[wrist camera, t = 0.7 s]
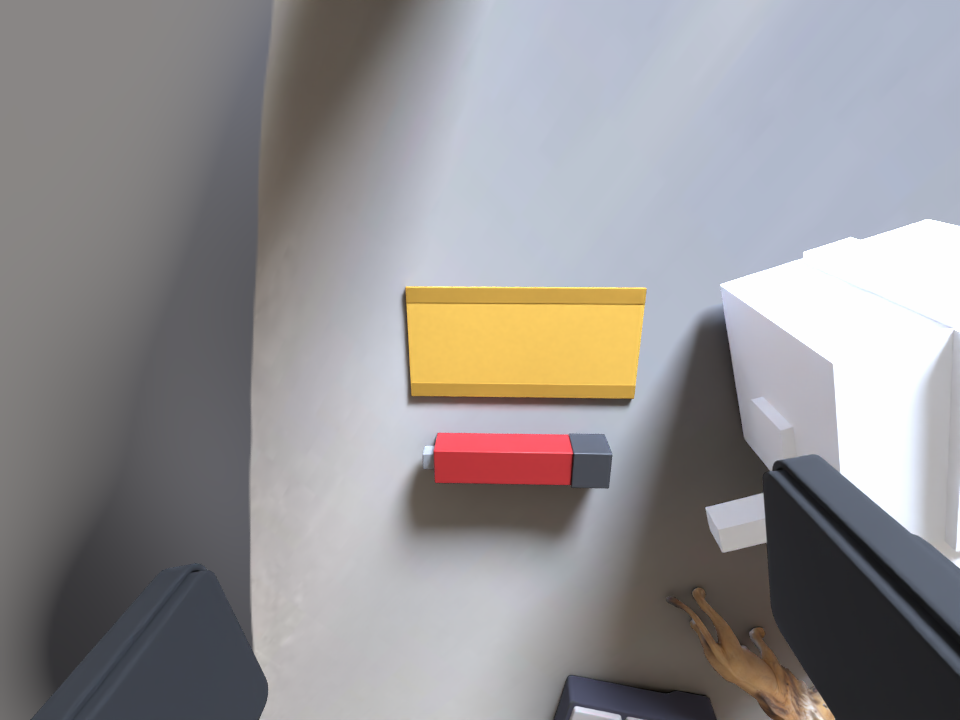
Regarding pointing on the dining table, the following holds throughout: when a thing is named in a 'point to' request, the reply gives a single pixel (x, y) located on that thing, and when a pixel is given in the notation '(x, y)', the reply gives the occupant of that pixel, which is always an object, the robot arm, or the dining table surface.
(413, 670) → the dining table surface
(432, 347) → the mustard cloth
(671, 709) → the calculator
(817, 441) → the blocky voxel creature
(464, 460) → the marker
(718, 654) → the lion figurine
